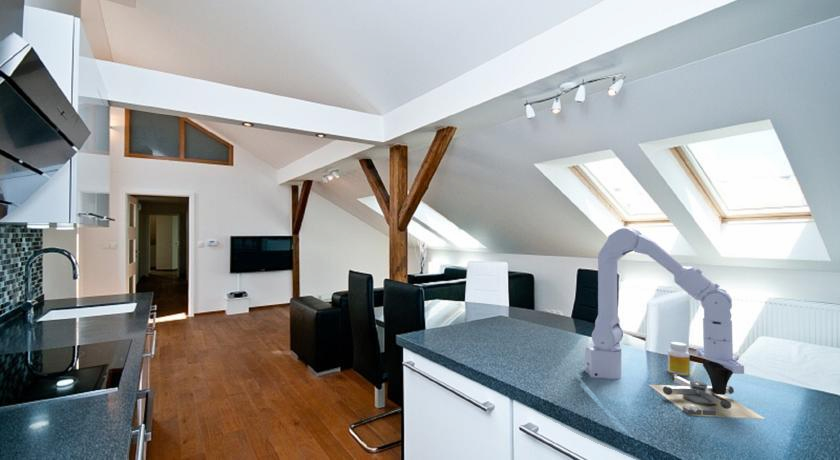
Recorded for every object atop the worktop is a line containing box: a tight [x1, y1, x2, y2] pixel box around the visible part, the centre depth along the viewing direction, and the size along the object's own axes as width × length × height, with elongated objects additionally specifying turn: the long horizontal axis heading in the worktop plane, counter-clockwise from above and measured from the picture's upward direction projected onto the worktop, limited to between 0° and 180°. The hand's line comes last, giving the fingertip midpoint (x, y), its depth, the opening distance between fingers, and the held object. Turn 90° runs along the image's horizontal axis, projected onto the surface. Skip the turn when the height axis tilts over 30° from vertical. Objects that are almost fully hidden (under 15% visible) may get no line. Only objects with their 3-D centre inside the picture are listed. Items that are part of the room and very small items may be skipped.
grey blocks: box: [682, 405, 716, 415], centre depth 88 cm, size 6×2×2 cm, turn 85°
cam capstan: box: [663, 374, 735, 409], centre depth 96 cm, size 18×18×4 cm
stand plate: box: [648, 384, 766, 420], centre depth 95 cm, size 16×18×1 cm
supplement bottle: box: [667, 341, 691, 377], centre depth 114 cm, size 5×5×10 cm
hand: (718, 393), depth 95 cm, fingers closed, pressing on cam capstan
